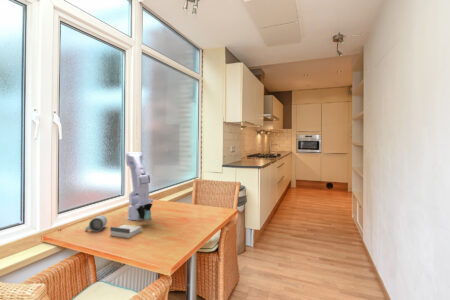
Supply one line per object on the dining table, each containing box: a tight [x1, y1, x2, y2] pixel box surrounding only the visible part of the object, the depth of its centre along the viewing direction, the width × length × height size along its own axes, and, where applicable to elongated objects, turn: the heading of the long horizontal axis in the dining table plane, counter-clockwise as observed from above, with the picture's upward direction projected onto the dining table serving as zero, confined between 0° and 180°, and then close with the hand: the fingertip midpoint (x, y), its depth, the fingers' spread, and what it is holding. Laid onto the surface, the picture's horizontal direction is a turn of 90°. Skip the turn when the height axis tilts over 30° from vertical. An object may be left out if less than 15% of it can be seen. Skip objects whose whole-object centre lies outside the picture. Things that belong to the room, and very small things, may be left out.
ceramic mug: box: [85, 215, 108, 233], centre depth 134 cm, size 11×8×8 cm
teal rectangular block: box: [137, 209, 153, 223], centre depth 139 cm, size 7×4×6 cm, turn 71°
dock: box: [109, 224, 142, 239], centre depth 127 cm, size 12×10×4 cm
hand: (144, 217), depth 139 cm, fingers closed on teal rectangular block, 4 cm apart
